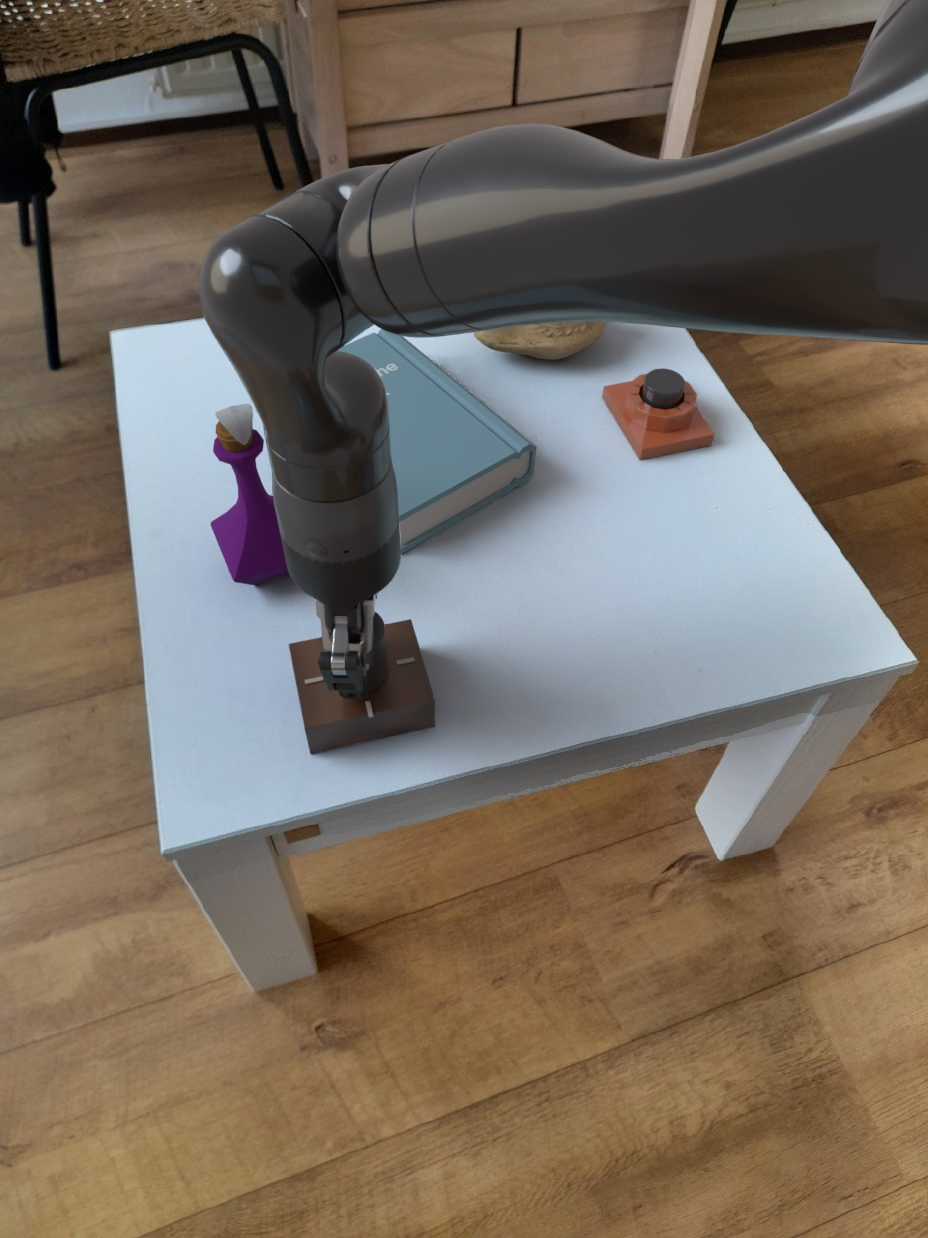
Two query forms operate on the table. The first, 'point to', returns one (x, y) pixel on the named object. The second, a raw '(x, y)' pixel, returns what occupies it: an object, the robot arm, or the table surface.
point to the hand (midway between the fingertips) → (357, 665)
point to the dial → (377, 655)
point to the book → (440, 440)
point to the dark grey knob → (663, 389)
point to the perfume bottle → (247, 504)
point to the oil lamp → (543, 338)
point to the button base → (657, 420)
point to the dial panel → (381, 713)
